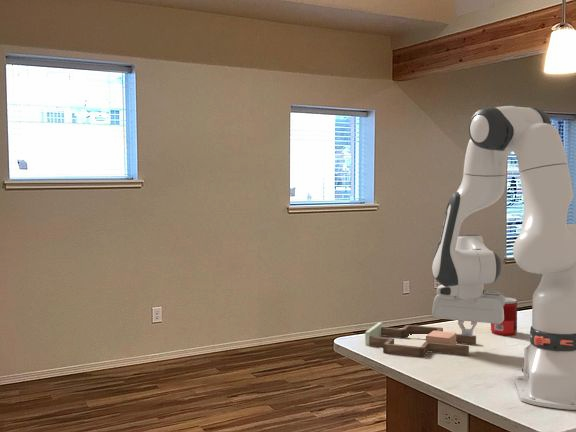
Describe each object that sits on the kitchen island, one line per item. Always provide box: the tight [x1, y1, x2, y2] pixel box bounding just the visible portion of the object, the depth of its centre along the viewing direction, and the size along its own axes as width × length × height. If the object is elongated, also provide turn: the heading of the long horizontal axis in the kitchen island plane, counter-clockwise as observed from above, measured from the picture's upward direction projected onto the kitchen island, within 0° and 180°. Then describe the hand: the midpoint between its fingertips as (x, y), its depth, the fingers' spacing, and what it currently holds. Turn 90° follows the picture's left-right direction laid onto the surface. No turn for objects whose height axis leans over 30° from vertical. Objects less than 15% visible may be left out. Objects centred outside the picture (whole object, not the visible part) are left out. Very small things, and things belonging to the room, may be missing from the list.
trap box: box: [364, 321, 477, 358], centre depth 190 cm, size 25×31×4 cm
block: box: [425, 330, 457, 345], centre depth 187 cm, size 7×7×4 cm
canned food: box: [490, 296, 518, 337], centre depth 201 cm, size 8×8×11 cm
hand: (467, 335), depth 184 cm, fingers closed
